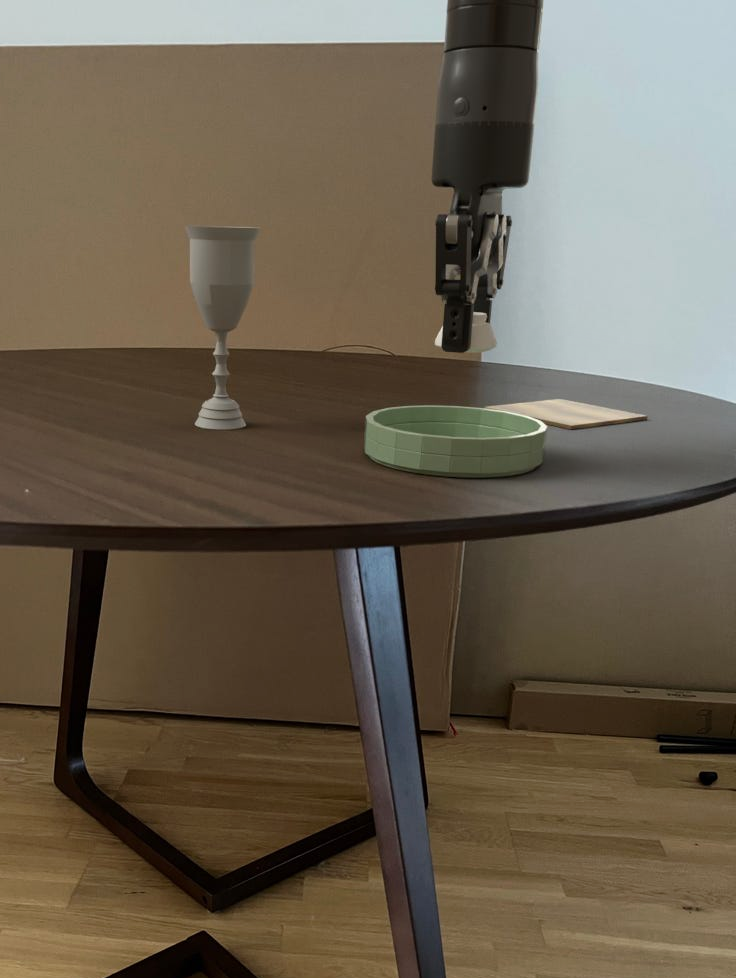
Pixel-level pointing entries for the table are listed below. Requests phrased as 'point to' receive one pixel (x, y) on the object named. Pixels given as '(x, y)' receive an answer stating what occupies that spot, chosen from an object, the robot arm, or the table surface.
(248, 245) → the chalice
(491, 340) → the white jar
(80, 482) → the table surface
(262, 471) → the table surface
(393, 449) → the pan
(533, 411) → the mat
